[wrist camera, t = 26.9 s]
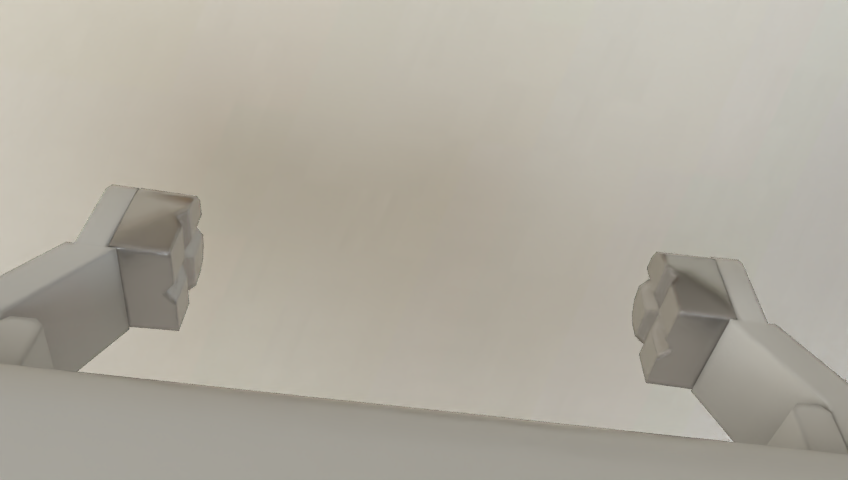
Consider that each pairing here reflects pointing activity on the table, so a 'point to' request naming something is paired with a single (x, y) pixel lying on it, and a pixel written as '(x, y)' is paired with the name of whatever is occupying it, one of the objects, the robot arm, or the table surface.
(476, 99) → the table surface
